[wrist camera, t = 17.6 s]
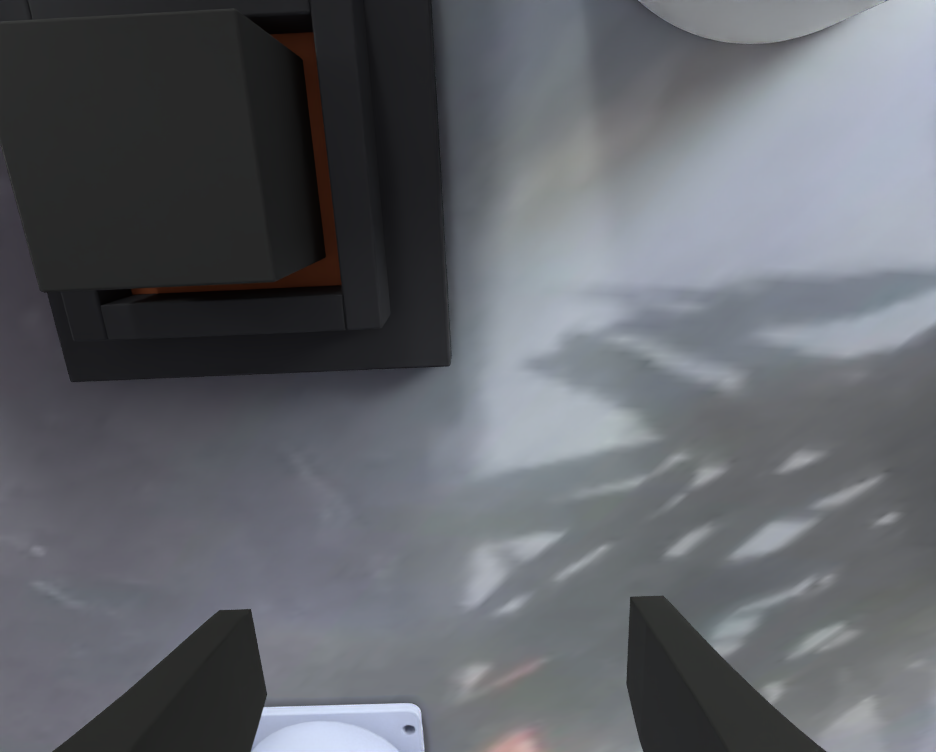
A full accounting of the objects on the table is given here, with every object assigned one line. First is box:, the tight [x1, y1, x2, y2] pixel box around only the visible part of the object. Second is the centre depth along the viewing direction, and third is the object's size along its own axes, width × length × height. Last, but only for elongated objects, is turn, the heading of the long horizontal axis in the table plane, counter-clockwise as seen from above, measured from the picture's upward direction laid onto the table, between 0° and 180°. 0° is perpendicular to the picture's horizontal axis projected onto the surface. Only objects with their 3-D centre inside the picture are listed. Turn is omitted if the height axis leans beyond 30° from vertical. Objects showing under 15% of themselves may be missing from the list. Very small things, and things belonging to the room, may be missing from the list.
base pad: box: [0, 0, 451, 382], centre depth 16 cm, size 12×12×3 cm
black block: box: [0, 8, 326, 293], centre depth 14 cm, size 5×5×5 cm
